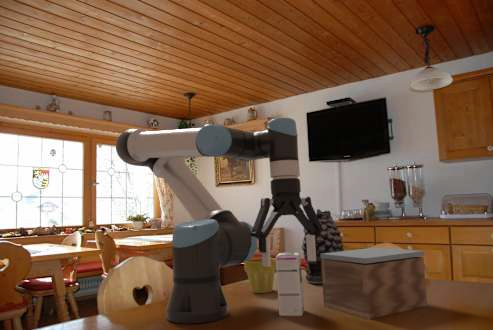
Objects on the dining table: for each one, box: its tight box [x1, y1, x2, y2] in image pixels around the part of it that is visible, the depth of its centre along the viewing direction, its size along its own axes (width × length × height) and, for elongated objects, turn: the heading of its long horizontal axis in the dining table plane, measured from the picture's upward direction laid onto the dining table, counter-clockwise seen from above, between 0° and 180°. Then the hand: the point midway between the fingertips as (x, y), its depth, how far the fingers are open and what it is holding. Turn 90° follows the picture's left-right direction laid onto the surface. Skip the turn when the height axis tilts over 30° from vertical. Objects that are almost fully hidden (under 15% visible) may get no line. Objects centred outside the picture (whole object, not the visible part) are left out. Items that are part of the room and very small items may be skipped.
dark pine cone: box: [301, 208, 346, 284], centre depth 144 cm, size 21×15×25 cm
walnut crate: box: [321, 256, 428, 320], centre depth 104 cm, size 20×16×12 cm
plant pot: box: [243, 257, 276, 294], centre depth 129 cm, size 10×10×10 cm
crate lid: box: [320, 247, 425, 264], centre depth 105 cm, size 20×16×1 cm
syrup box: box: [275, 251, 305, 317], centre depth 101 cm, size 6×6×14 cm
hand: (290, 263), depth 101 cm, fingers open, 13 cm apart
